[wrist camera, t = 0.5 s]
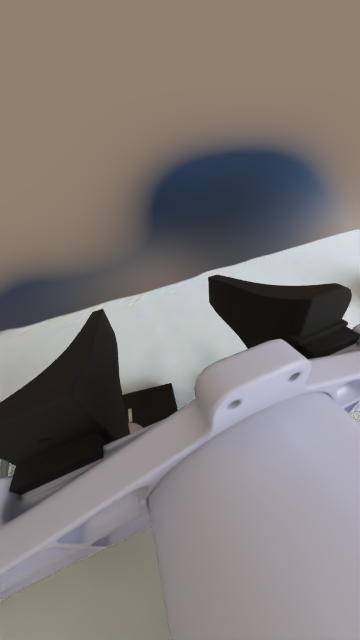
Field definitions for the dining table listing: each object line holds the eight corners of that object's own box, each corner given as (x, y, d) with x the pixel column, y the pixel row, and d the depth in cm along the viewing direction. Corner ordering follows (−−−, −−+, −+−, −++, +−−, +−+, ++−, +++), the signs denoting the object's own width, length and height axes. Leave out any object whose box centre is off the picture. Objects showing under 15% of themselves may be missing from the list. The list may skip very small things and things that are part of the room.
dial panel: (196, 502, 20) (200, 508, 17) (86, 544, 18) (71, 557, 15) (171, 390, 27) (171, 382, 24) (90, 410, 25) (81, 404, 22)
